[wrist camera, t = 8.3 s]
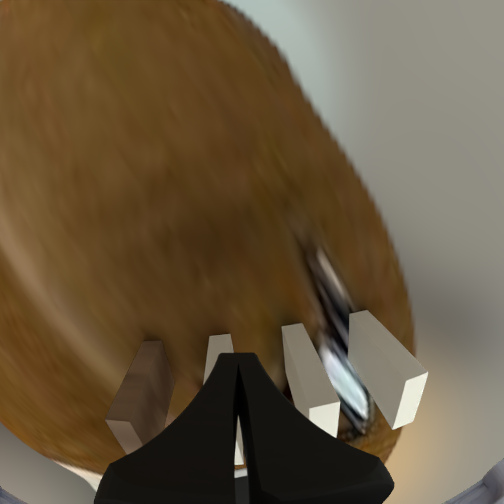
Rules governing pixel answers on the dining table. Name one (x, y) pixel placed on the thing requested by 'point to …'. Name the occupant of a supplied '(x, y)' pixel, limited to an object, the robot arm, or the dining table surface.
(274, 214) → the dining table surface
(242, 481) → the smartphone
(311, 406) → the ivory domino
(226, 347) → the ivory domino
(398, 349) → the ivory domino
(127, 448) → the walnut domino
